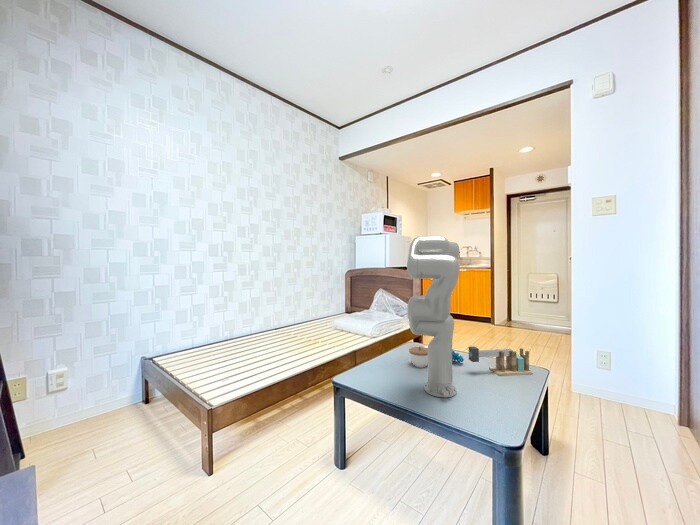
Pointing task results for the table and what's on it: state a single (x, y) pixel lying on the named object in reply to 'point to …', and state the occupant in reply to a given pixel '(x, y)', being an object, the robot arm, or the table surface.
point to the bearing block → (511, 364)
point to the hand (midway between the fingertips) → (439, 305)
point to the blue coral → (456, 357)
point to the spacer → (519, 363)
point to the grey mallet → (486, 353)
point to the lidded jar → (419, 356)
